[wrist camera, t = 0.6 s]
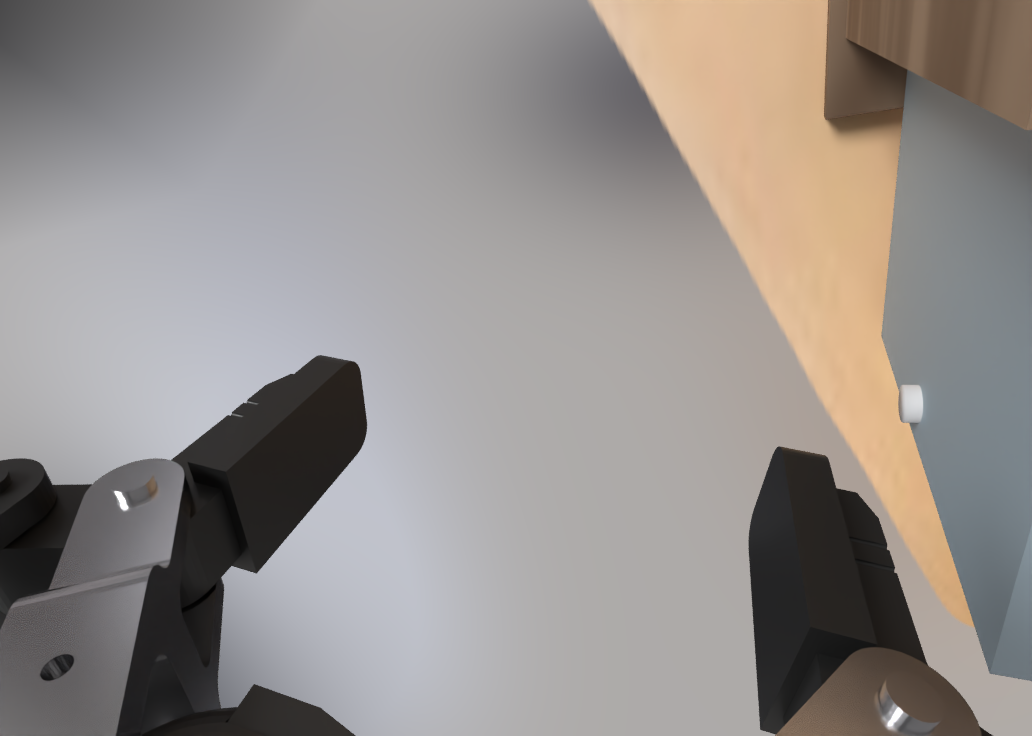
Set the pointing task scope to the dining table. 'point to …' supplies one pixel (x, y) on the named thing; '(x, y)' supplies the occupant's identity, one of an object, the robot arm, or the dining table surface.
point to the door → (969, 347)
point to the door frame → (929, 54)
